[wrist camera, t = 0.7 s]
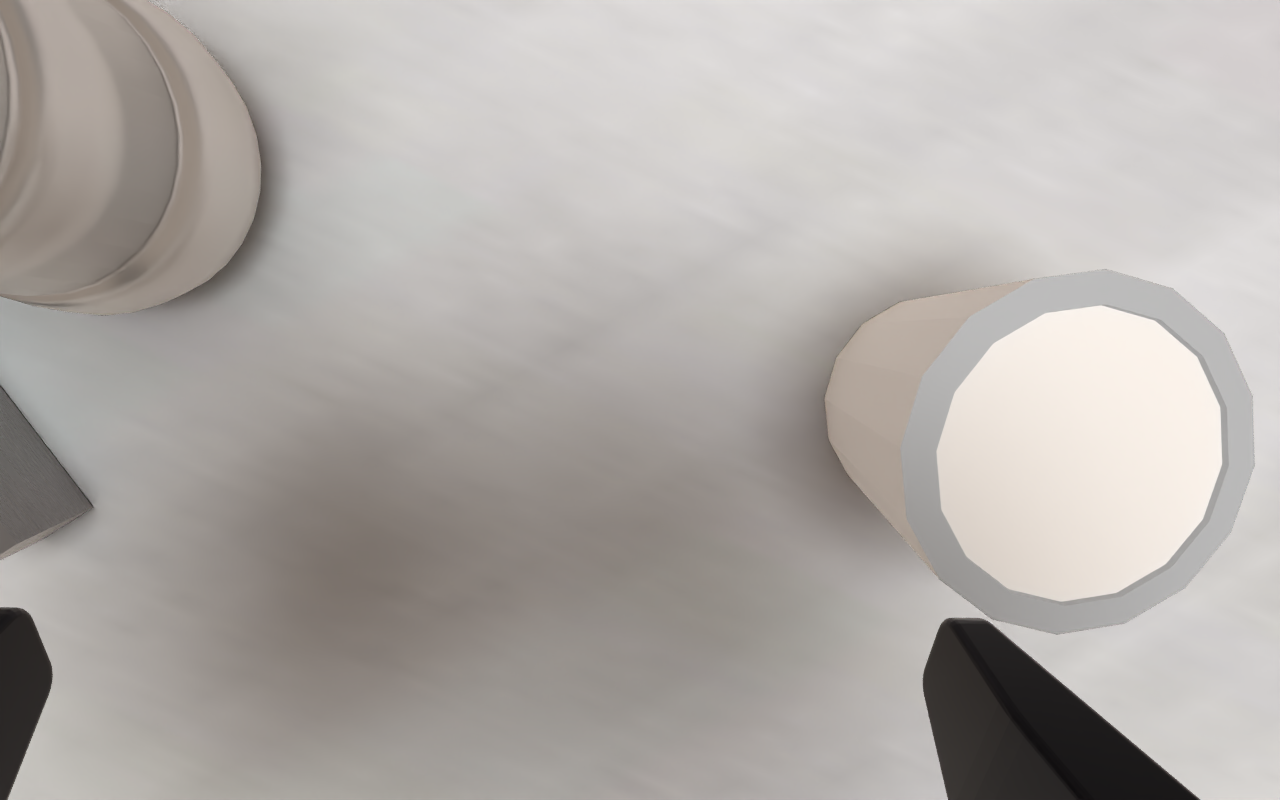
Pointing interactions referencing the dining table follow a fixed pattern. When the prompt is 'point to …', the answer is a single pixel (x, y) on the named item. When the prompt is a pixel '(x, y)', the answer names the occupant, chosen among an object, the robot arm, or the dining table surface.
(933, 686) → the robot arm
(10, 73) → the plastic bottle
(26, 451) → the bar
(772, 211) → the dining table surface
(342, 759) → the dining table surface
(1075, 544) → the white tapered cup
